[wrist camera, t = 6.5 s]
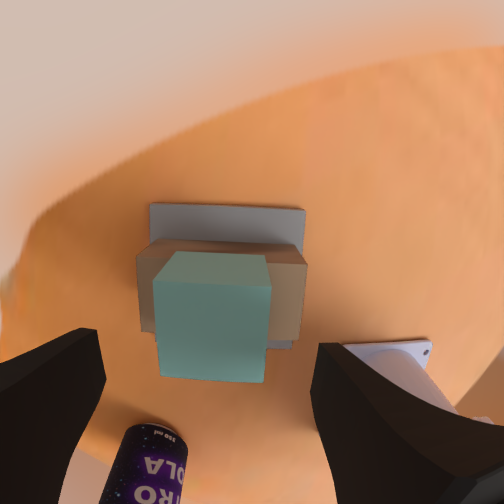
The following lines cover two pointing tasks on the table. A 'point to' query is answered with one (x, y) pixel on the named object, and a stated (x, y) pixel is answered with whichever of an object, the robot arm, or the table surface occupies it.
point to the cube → (212, 316)
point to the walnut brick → (276, 255)
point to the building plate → (229, 228)
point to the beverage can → (147, 467)
